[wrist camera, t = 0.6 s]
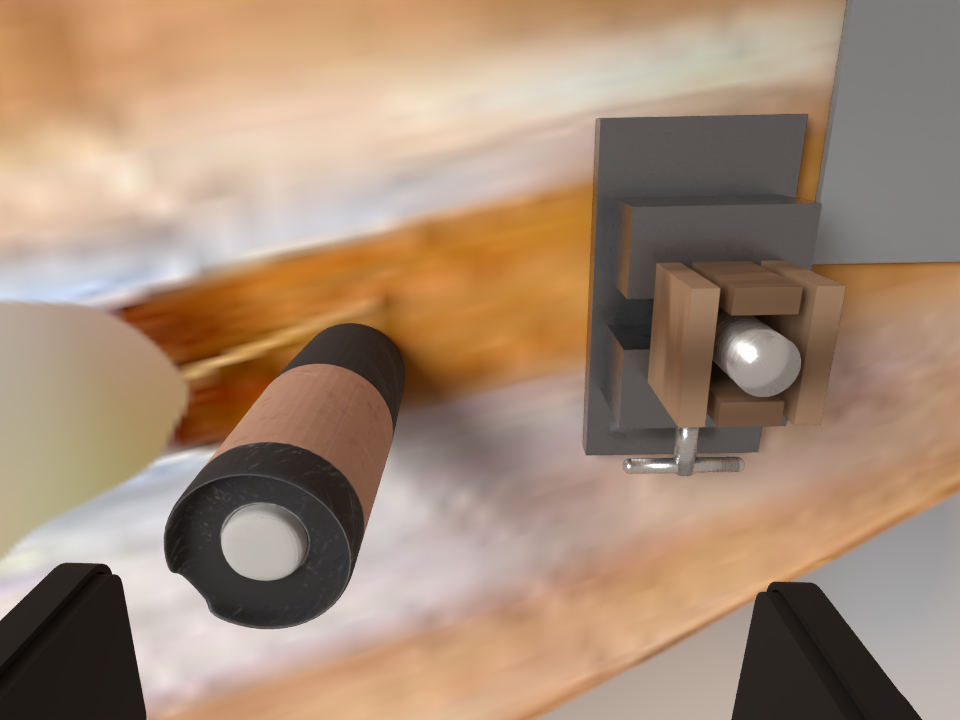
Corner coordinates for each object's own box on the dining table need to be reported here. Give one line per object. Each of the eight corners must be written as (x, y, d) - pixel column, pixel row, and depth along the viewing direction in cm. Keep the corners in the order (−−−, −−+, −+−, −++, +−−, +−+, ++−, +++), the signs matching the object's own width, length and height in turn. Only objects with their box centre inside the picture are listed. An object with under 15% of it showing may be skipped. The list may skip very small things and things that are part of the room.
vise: (596, 118, 38) (655, 112, 25) (795, 114, 38) (956, 106, 25) (582, 445, 45) (623, 567, 33) (749, 442, 45) (854, 563, 33)
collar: (656, 262, 34) (691, 288, 29) (785, 260, 34) (846, 285, 29) (647, 382, 37) (678, 427, 31) (767, 379, 37) (820, 425, 31)
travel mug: (418, 331, 42) (370, 491, 24) (398, 431, 45) (341, 647, 26) (305, 307, 42) (163, 452, 23) (292, 410, 44) (154, 615, 26)
